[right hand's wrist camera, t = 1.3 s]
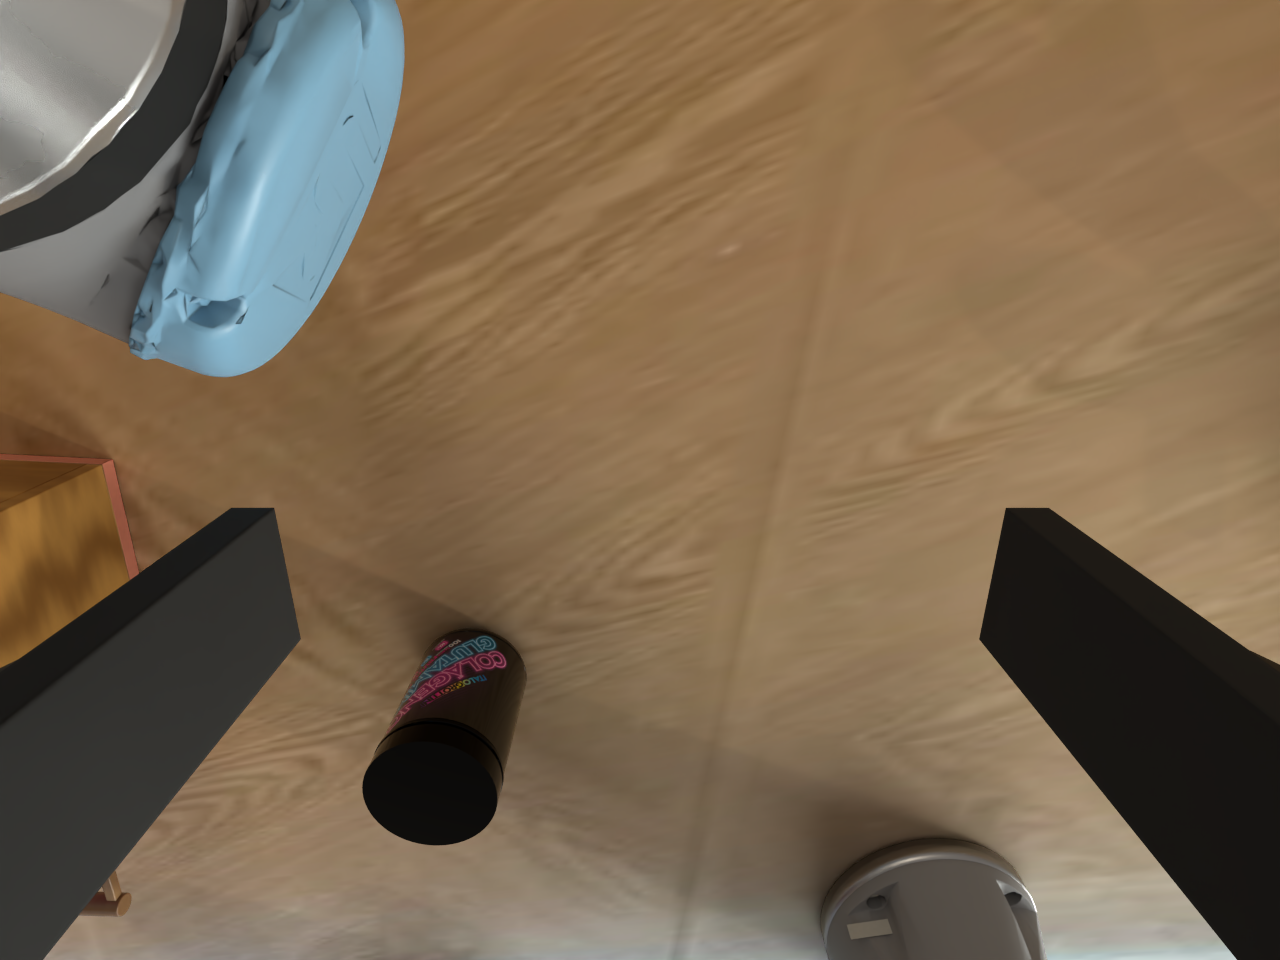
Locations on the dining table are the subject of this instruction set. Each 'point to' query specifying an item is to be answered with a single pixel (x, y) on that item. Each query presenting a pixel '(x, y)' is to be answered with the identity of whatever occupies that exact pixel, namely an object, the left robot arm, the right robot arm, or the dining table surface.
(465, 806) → the supplement container
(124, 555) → the cabinet
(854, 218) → the dining table surface
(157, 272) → the left robot arm
